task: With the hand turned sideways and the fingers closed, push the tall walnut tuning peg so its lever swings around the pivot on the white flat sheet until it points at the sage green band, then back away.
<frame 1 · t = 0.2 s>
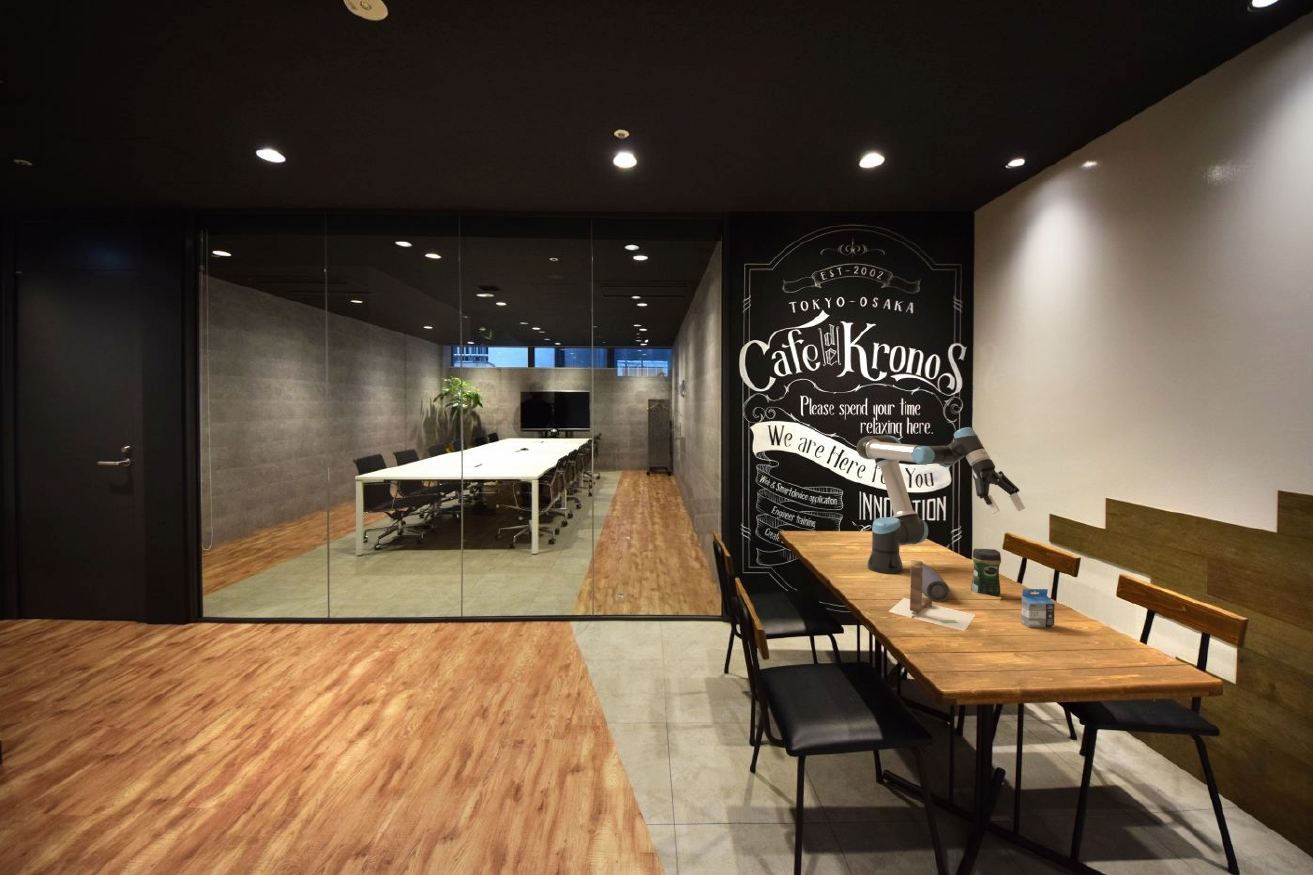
hand: (1009, 511, 196), 36 cm above the table, tool tilted 35°, fingers open, 13 cm apart
bluetooth speaker: (928, 594, 206), on the table
label tape box: (1037, 626, 177), on the table
coffee jar: (985, 595, 206), on the table
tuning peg: (920, 584, 186), point 11 cm above the table, hinge at 0.0°
white flat sheet: (931, 617, 184), on the table
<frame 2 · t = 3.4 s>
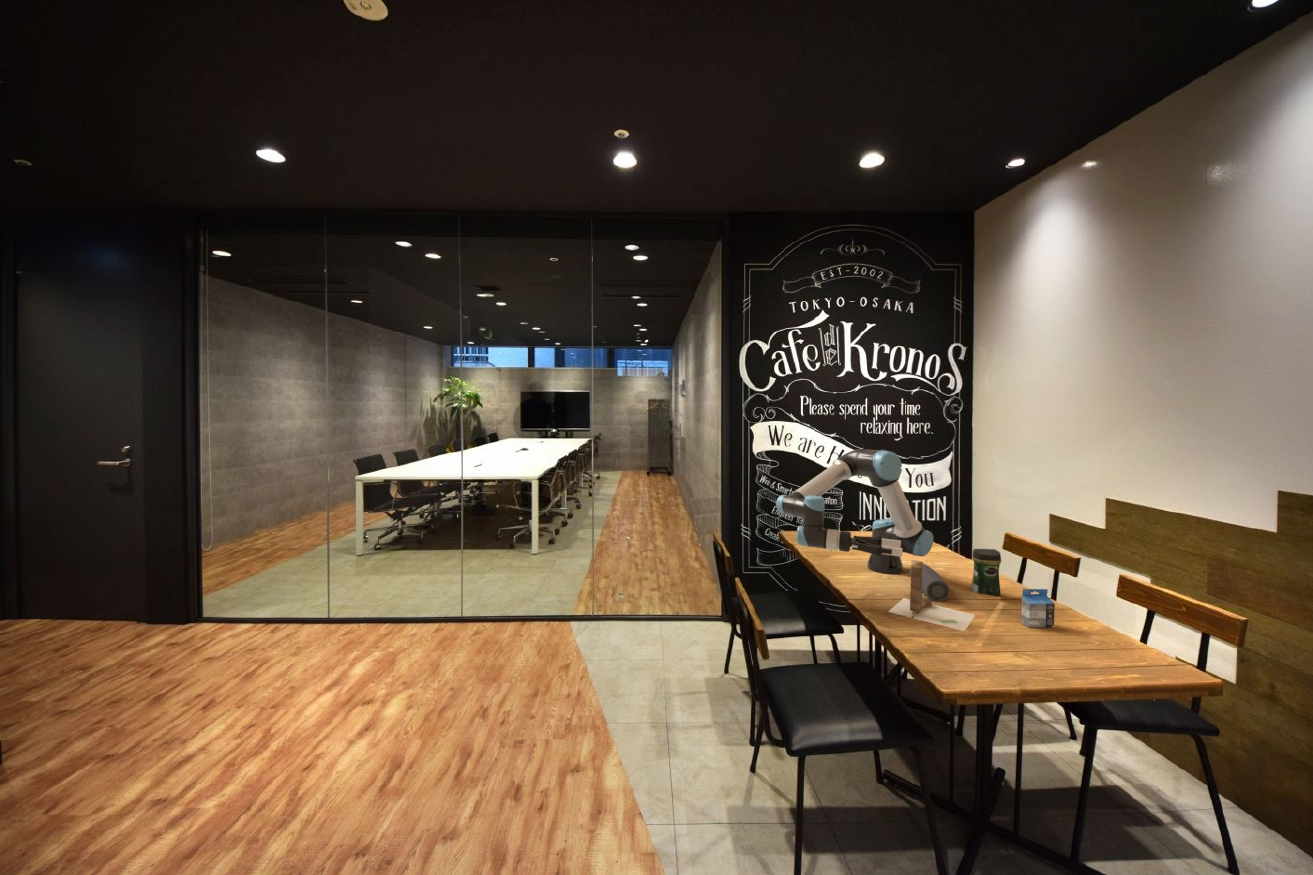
hand: (901, 548, 185), 24 cm above the table, tool horizontal, fingers open, 13 cm apart
nothing on the table moved.
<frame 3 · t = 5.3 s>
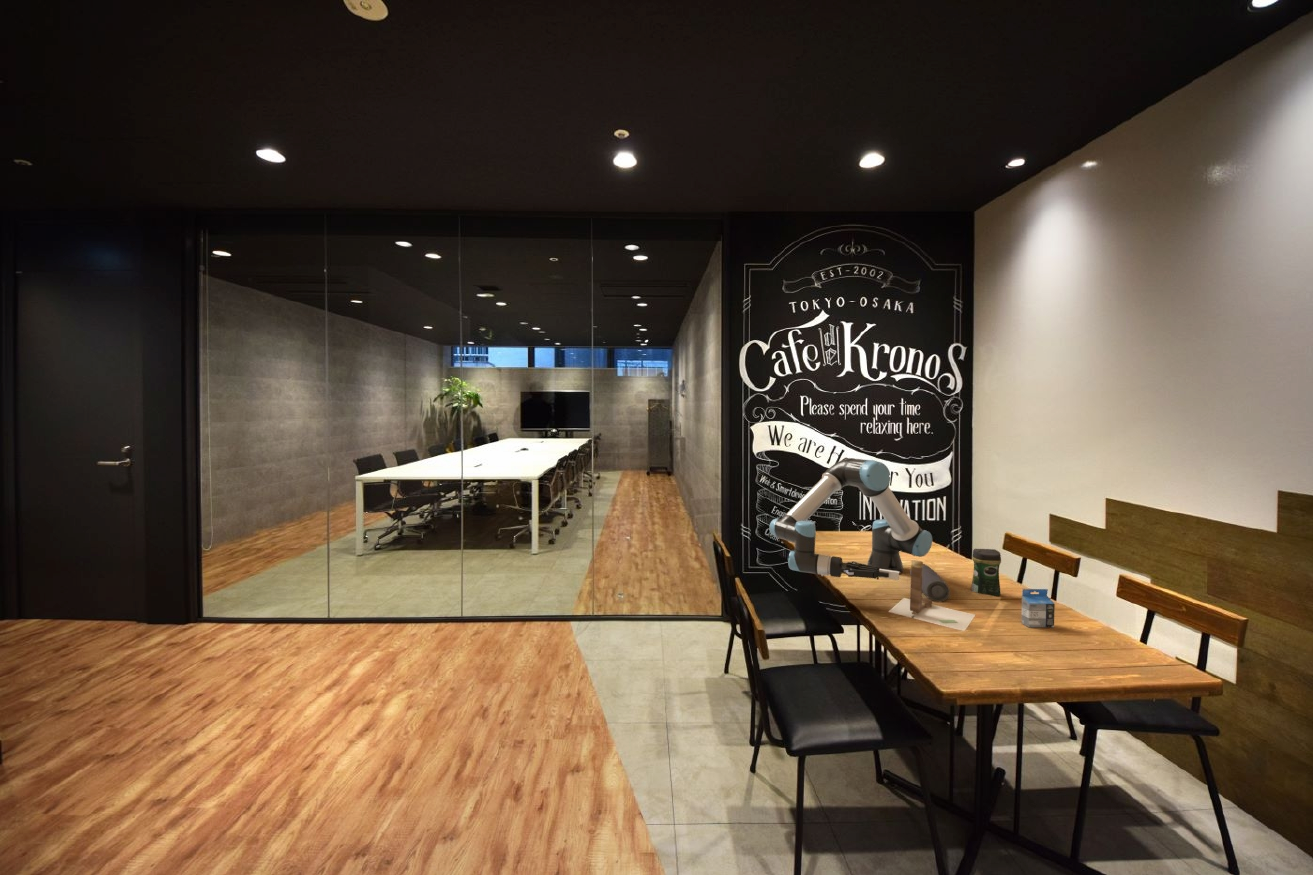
hand: (898, 575, 184), 15 cm above the table, tool horizontal, fingers closed
nothing on the table moved.
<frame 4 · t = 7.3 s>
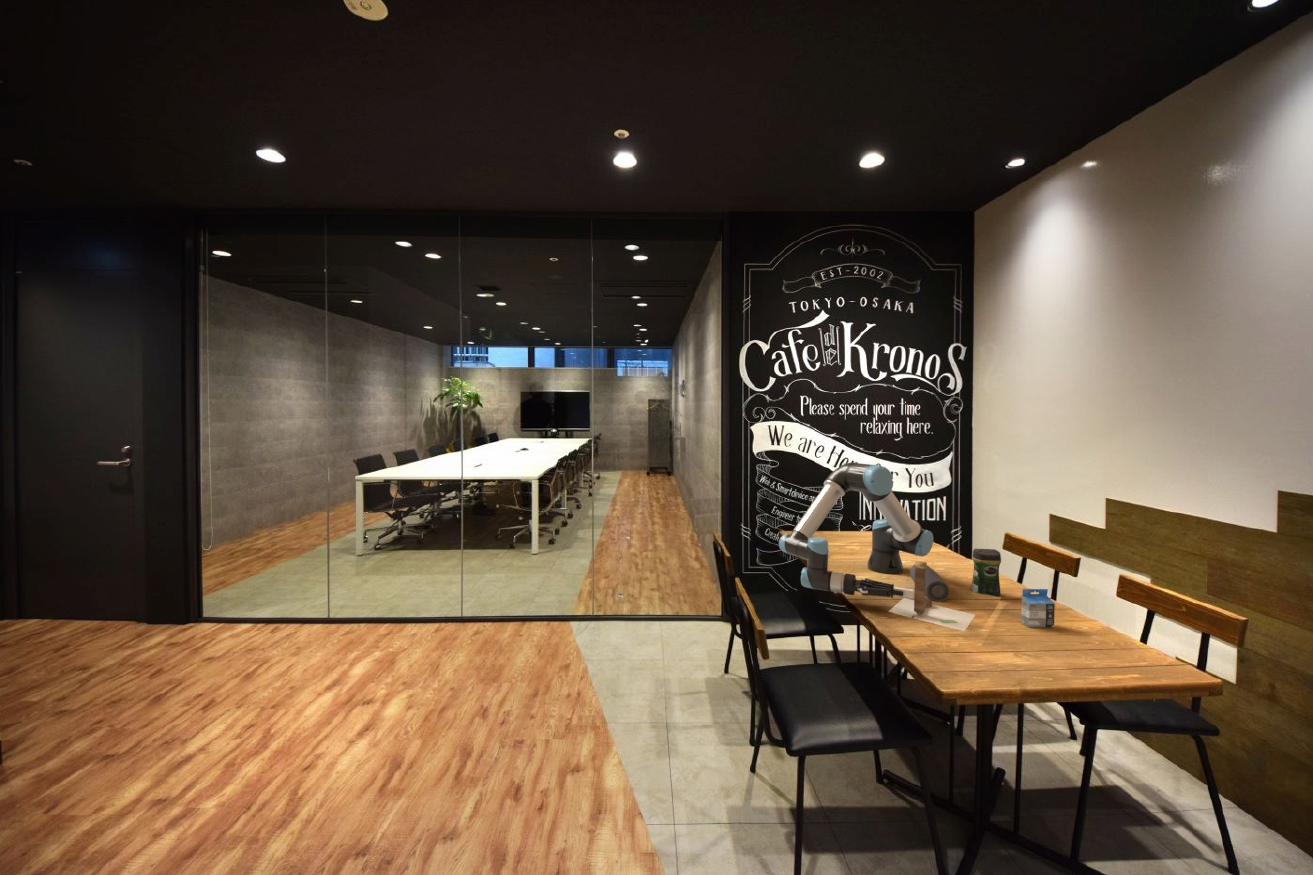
hand: (913, 594, 182), 9 cm above the table, tool horizontal, fingers closed
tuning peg: (922, 584, 186), point 11 cm above the table, hinge at 6.2°, touching gripper
everything else where it was.
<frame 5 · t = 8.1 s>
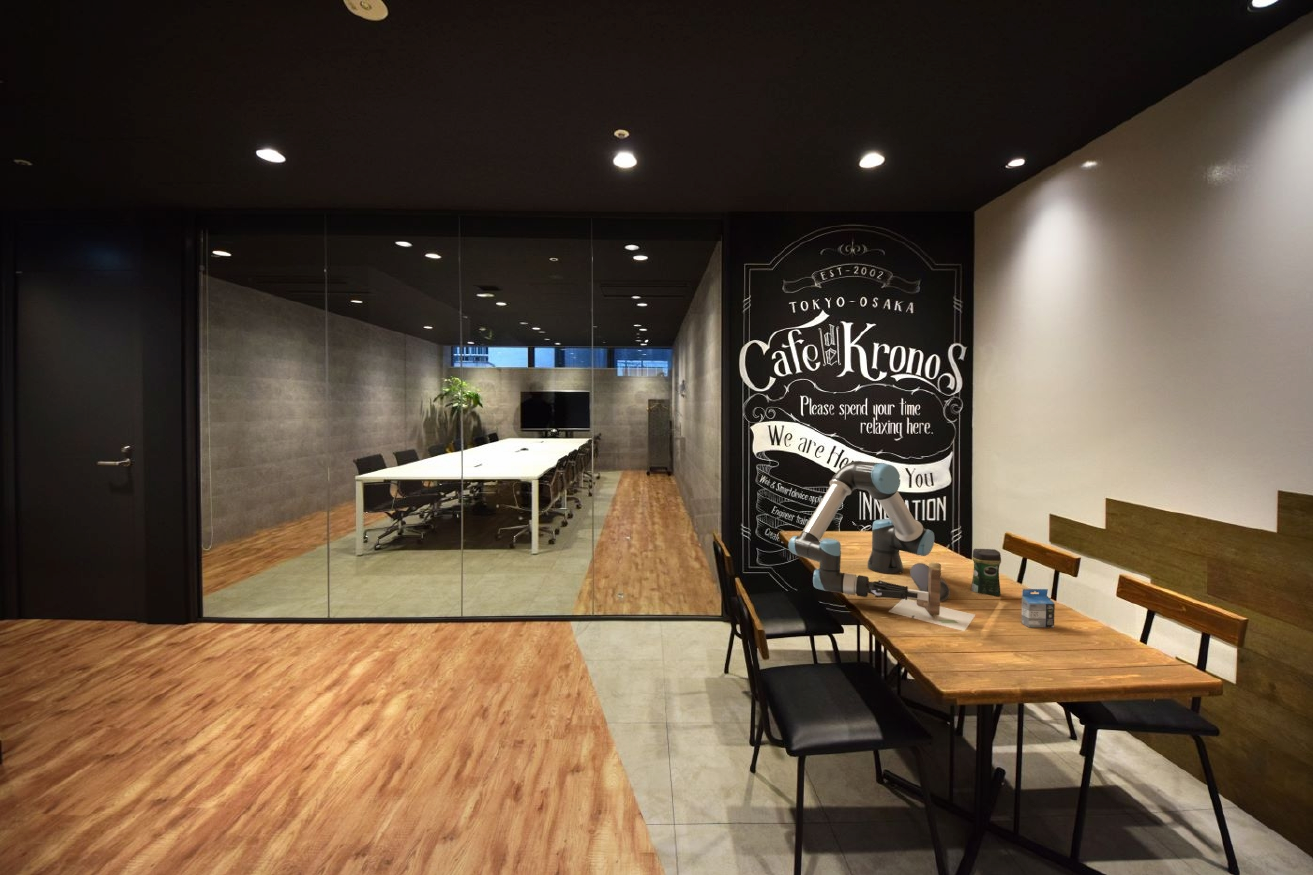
hand: (928, 596, 180), 9 cm above the table, tool horizontal, fingers closed
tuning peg: (929, 585, 185), point 11 cm above the table, hinge at 29.3°, touching gripper
everything else where it was.
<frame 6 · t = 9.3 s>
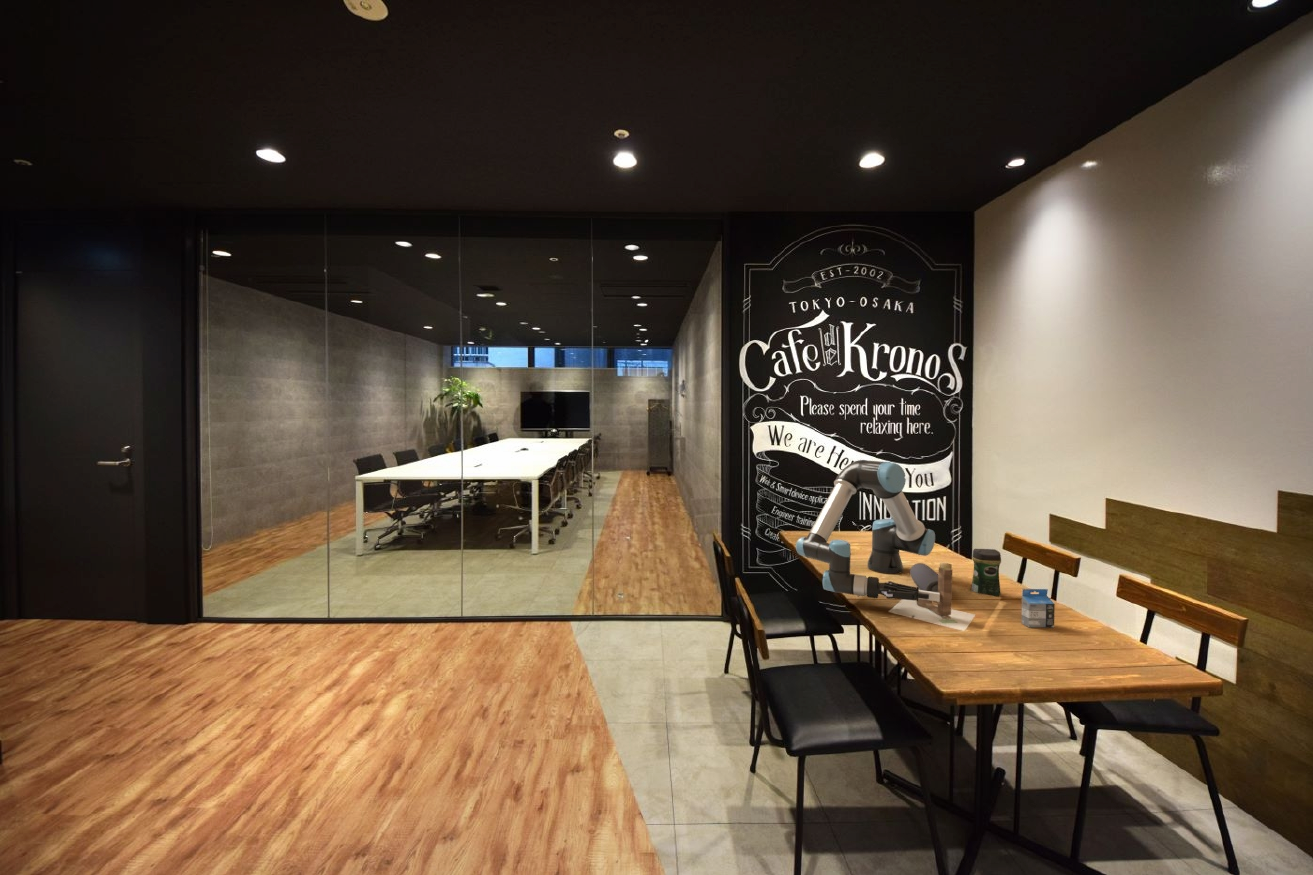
hand: (939, 597, 179), 9 cm above the table, tool horizontal, fingers closed
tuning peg: (935, 585, 185), point 11 cm above the table, hinge at 48.2°, touching gripper
everything else where it was.
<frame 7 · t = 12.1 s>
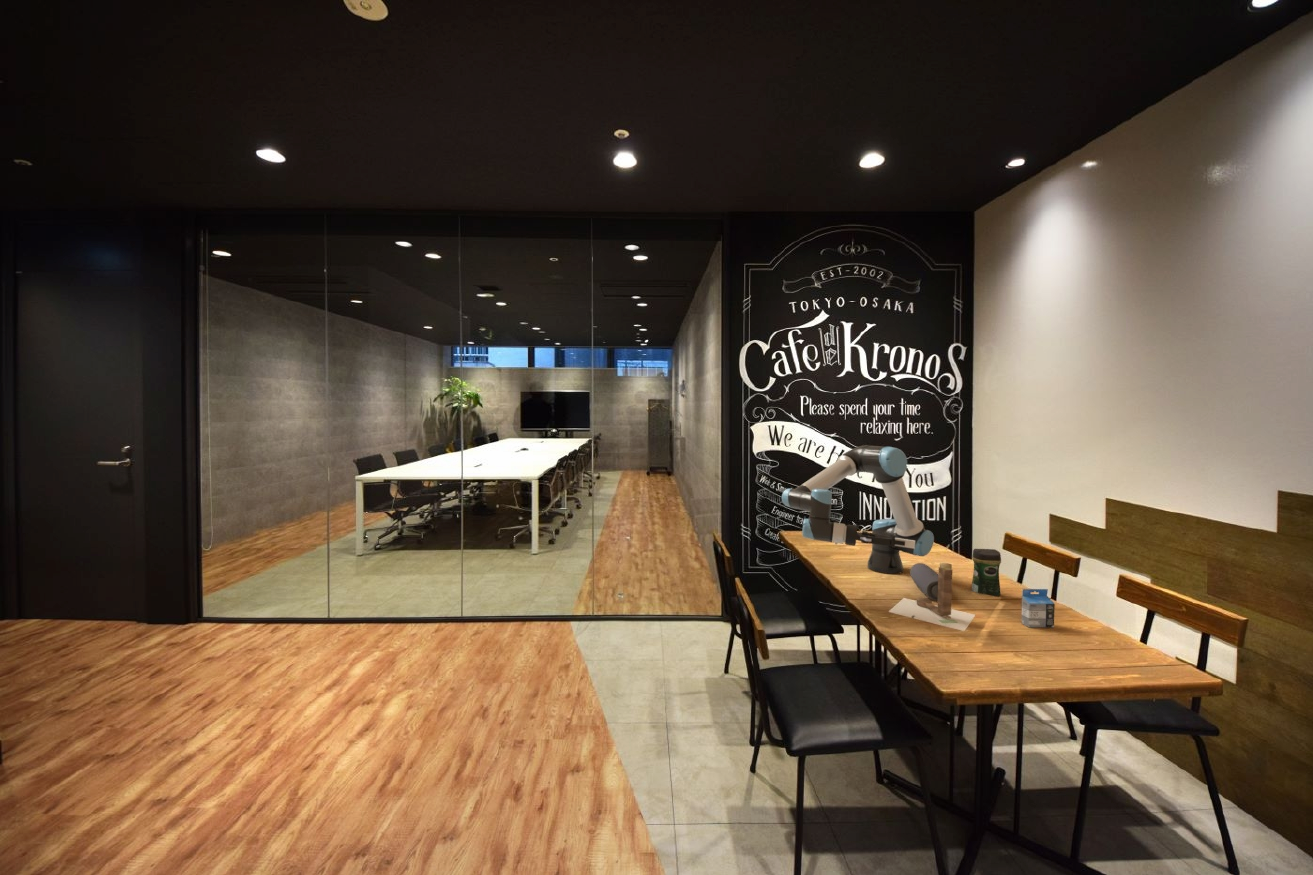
hand: (914, 544, 185), 26 cm above the table, tool horizontal, fingers closed
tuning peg: (935, 585, 185), point 11 cm above the table, hinge at 48.2°
everything else where it was.
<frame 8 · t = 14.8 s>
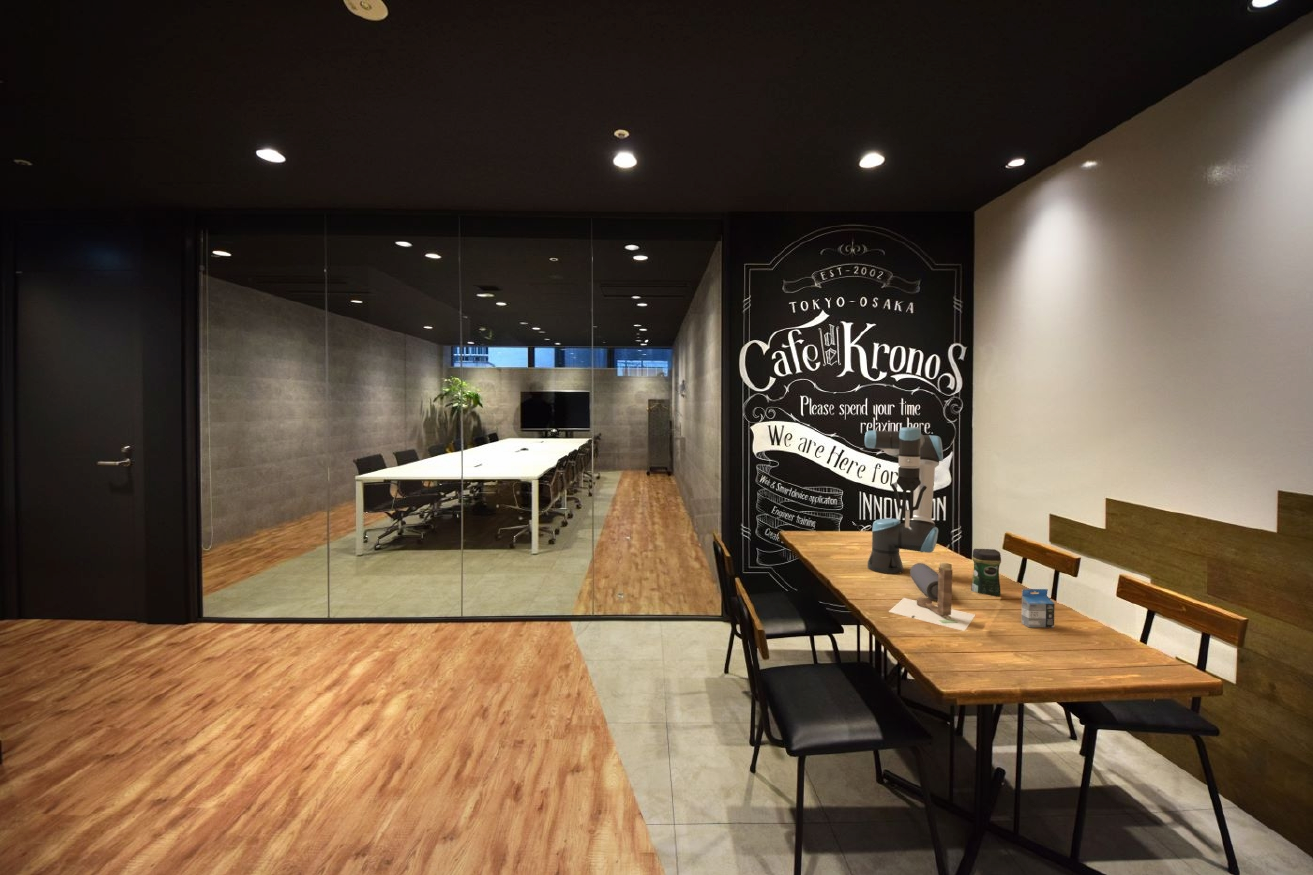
hand: (907, 526, 201), 28 cm above the table, tool pointing down, fingers closed
nothing on the table moved.
at the end: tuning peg at +48° (first picture: +0°) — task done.
